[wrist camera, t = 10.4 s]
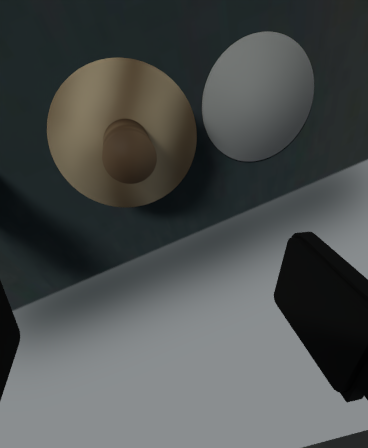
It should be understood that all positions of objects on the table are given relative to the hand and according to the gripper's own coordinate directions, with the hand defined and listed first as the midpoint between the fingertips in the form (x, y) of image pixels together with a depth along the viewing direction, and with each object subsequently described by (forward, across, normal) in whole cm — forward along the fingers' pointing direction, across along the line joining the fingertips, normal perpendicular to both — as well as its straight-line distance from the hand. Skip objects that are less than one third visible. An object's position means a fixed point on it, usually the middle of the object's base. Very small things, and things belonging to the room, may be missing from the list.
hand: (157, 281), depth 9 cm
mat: (+26, -16, -2) cm, 31 cm away
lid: (+20, 0, 0) cm, 20 cm away
